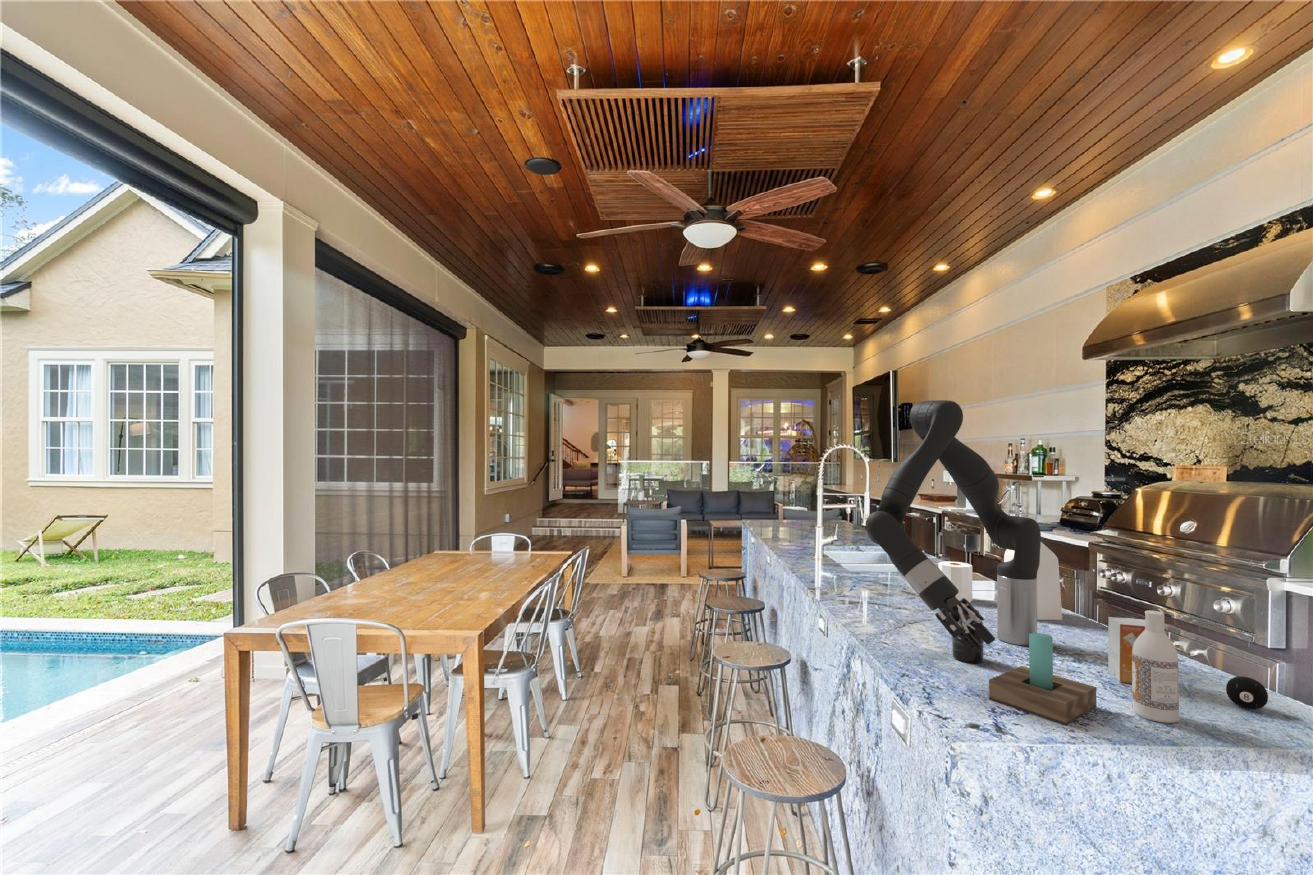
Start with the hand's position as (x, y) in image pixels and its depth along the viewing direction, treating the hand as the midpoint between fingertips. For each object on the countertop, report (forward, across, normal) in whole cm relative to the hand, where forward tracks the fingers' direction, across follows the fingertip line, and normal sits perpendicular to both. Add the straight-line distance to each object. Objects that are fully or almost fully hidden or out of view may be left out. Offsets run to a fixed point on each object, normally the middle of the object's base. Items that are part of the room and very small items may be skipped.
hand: (985, 646), depth 129 cm
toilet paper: (-16, +76, +29) cm, 83 cm away
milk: (0, +74, +12) cm, 75 cm away
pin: (+13, 0, -1) cm, 13 cm away
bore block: (+14, 0, -1) cm, 14 cm away
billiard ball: (+34, +27, -22) cm, 49 cm away
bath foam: (+26, +9, -13) cm, 30 cm away
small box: (+22, +29, -9) cm, 38 cm away
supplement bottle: (0, +17, +13) cm, 21 cm away
